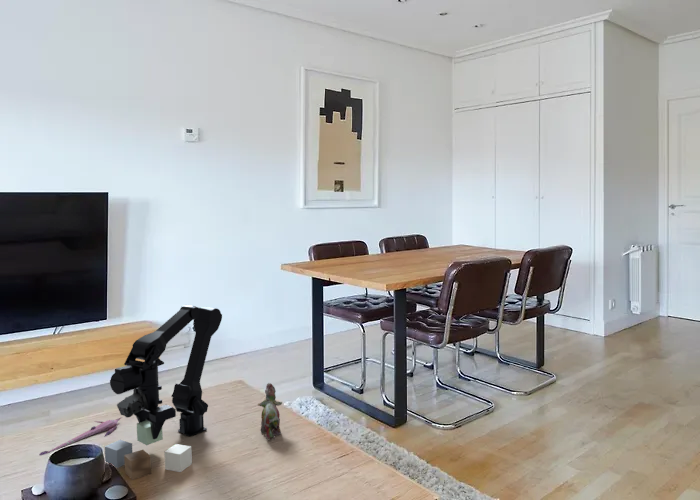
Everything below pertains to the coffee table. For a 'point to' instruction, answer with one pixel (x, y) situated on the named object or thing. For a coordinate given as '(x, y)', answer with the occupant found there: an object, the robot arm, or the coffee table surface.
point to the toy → (91, 433)
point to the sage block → (146, 433)
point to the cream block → (178, 457)
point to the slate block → (117, 452)
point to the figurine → (270, 413)
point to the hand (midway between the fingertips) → (149, 436)
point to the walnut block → (137, 464)
